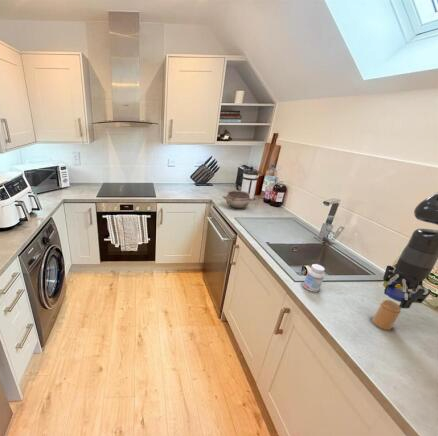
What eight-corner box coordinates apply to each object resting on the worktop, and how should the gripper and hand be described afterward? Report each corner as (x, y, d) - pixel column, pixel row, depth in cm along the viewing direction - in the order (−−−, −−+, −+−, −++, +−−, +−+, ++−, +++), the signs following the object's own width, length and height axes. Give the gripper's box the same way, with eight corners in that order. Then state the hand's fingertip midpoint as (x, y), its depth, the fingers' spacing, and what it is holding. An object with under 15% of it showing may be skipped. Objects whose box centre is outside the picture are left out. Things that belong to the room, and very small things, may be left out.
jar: (383, 319, 89) (394, 300, 86) (395, 330, 85) (406, 310, 81) (368, 317, 90) (378, 298, 86) (379, 329, 85) (390, 309, 81)
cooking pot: (250, 204, 204) (253, 191, 199) (254, 212, 188) (257, 198, 183) (220, 202, 210) (222, 189, 205) (221, 209, 193) (223, 195, 188)
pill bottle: (300, 282, 109) (307, 262, 104) (315, 284, 108) (322, 263, 103) (306, 291, 104) (313, 270, 99) (321, 293, 102) (329, 272, 98)
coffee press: (253, 196, 224) (259, 165, 212) (255, 202, 210) (262, 168, 198) (234, 195, 228) (239, 164, 216) (235, 200, 214) (240, 167, 202)
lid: (389, 299, 81) (391, 295, 80) (382, 288, 86) (384, 285, 85) (412, 305, 78) (415, 301, 77) (405, 293, 83) (407, 290, 82)
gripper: (385, 248, 83) (368, 286, 90) (424, 273, 70) (400, 315, 76) (409, 249, 82) (390, 288, 89) (453, 274, 69) (426, 317, 76)
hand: (395, 300), depth 83 cm, fingers closed on lid, 6 cm apart
